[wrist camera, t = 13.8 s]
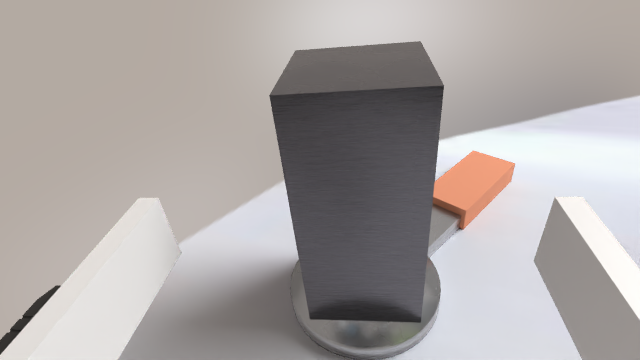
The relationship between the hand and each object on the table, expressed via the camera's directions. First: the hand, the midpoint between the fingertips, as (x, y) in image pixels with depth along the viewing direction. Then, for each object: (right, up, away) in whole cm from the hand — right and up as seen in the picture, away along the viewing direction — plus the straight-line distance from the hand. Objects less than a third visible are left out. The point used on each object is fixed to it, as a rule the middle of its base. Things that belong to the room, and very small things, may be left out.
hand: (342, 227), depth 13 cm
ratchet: (+7, -2, +14) cm, 16 cm away
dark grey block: (+2, -4, +10) cm, 11 cm away
